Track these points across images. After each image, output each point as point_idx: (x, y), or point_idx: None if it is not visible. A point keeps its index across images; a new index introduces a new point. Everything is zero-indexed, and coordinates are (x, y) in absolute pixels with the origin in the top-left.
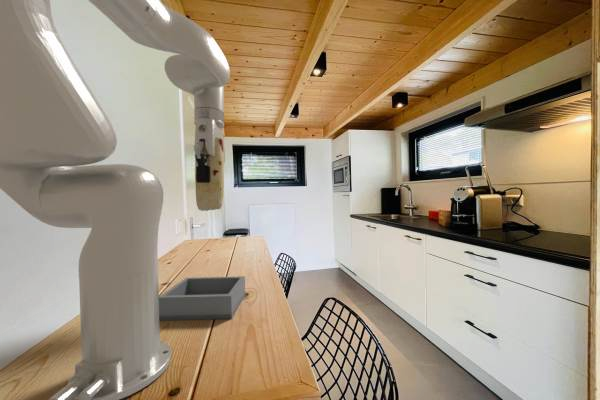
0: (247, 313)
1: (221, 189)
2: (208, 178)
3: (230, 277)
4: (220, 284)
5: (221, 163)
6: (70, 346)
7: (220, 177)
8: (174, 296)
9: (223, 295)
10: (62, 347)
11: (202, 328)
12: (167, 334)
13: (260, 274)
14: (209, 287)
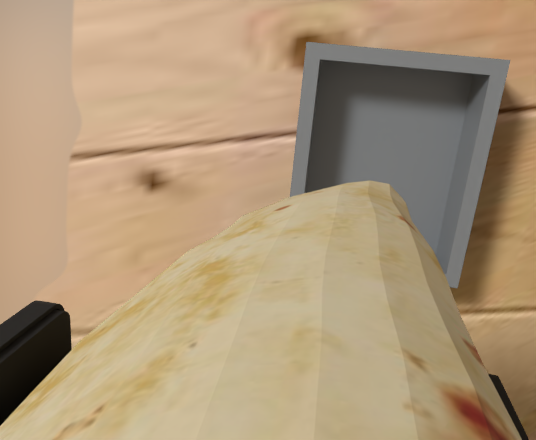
0: (462, 16)
1: (399, 216)
2: (506, 406)
3: (310, 100)
4: (311, 136)
5: (467, 418)
6: (517, 388)
7: (433, 279)
8: (461, 244)
9: (498, 88)
10: (517, 400)
11: (520, 134)
12: (525, 213)
13: (95, 8)
14: (307, 174)
